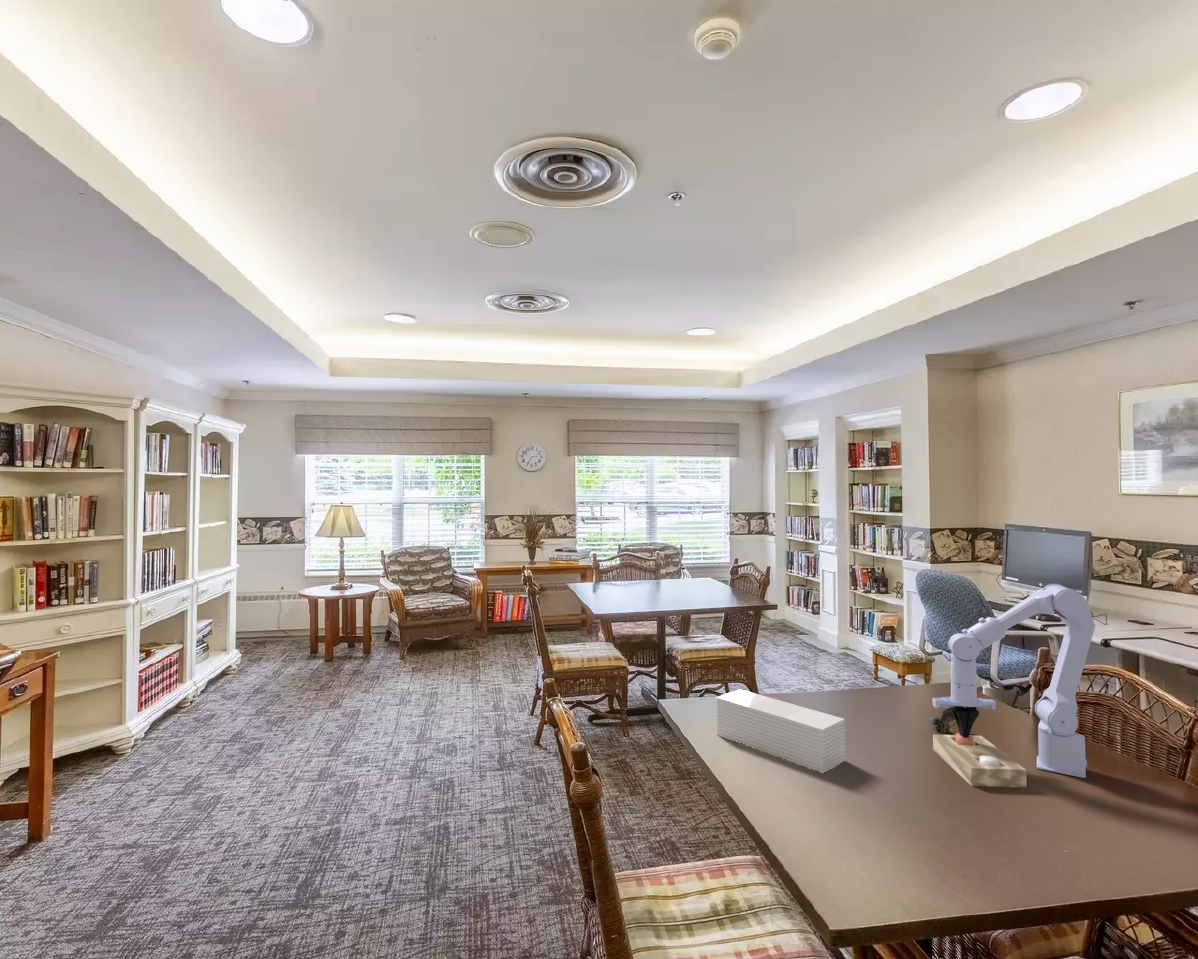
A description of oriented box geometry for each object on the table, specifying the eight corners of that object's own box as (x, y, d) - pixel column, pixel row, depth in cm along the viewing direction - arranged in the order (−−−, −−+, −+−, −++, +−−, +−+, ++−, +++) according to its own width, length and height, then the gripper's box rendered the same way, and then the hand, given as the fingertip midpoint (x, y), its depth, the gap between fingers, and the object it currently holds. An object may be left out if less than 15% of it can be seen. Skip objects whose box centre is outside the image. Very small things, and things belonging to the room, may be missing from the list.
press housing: (981, 751, 164) (981, 735, 164) (1026, 787, 144) (1026, 769, 144) (933, 749, 165) (932, 734, 165) (971, 785, 145) (971, 768, 145)
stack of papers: (845, 762, 159) (844, 718, 159) (823, 774, 152) (822, 729, 152) (740, 726, 183) (739, 688, 183) (716, 736, 176) (716, 697, 176)
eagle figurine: (965, 736, 171) (965, 719, 179) (948, 713, 172) (949, 697, 180) (938, 745, 175) (940, 729, 183) (922, 723, 176) (924, 707, 184)
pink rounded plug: (968, 750, 163) (968, 733, 163) (976, 757, 159) (976, 739, 159) (952, 750, 163) (952, 732, 163) (960, 756, 159) (959, 738, 159)
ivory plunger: (993, 774, 151) (993, 755, 151) (1003, 782, 147) (1002, 762, 147) (976, 774, 151) (976, 755, 151) (985, 781, 147) (984, 762, 147)
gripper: (985, 678, 164) (986, 731, 164) (927, 677, 166) (927, 729, 165) (1000, 686, 157) (1000, 741, 157) (939, 685, 159) (939, 740, 158)
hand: (964, 736), depth 161 cm, fingers closed, pressing on pink rounded plug
